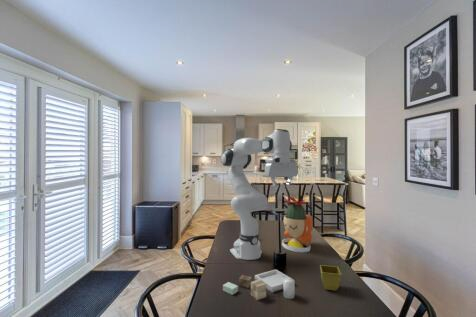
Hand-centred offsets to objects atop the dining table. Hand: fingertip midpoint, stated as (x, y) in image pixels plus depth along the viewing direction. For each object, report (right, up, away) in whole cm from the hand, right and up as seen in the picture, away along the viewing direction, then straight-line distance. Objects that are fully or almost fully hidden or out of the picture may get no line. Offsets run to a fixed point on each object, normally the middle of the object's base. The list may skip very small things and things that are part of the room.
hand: (281, 185), depth 133 cm
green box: (-27, -48, -15) cm, 57 cm away
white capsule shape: (0, -48, -19) cm, 52 cm away
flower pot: (+21, -48, -12) cm, 54 cm away
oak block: (-14, -48, -19) cm, 54 cm away
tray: (-5, -48, -7) cm, 49 cm away
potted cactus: (+19, -49, +45) cm, 69 cm away
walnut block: (-20, -48, -10) cm, 53 cm away
